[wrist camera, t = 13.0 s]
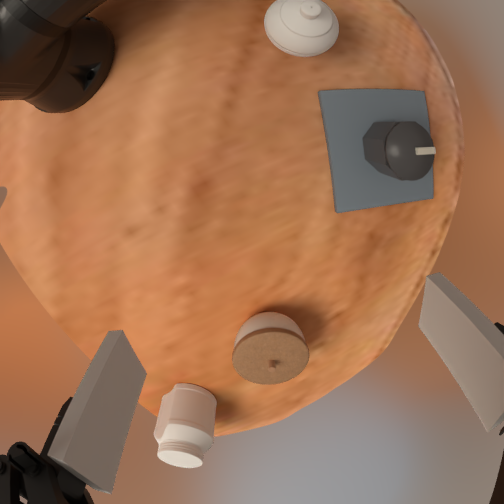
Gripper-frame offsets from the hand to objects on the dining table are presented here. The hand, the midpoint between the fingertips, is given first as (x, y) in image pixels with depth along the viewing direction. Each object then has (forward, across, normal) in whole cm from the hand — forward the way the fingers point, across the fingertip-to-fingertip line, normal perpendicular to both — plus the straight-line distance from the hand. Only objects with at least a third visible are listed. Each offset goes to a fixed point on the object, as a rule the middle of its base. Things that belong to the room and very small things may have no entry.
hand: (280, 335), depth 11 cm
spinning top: (+27, +8, +19) cm, 34 cm away
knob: (+26, +18, +4) cm, 32 cm away
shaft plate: (+27, +18, +4) cm, 32 cm away
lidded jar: (+27, -2, -21) cm, 34 cm away
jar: (+27, -21, -38) cm, 51 cm away
